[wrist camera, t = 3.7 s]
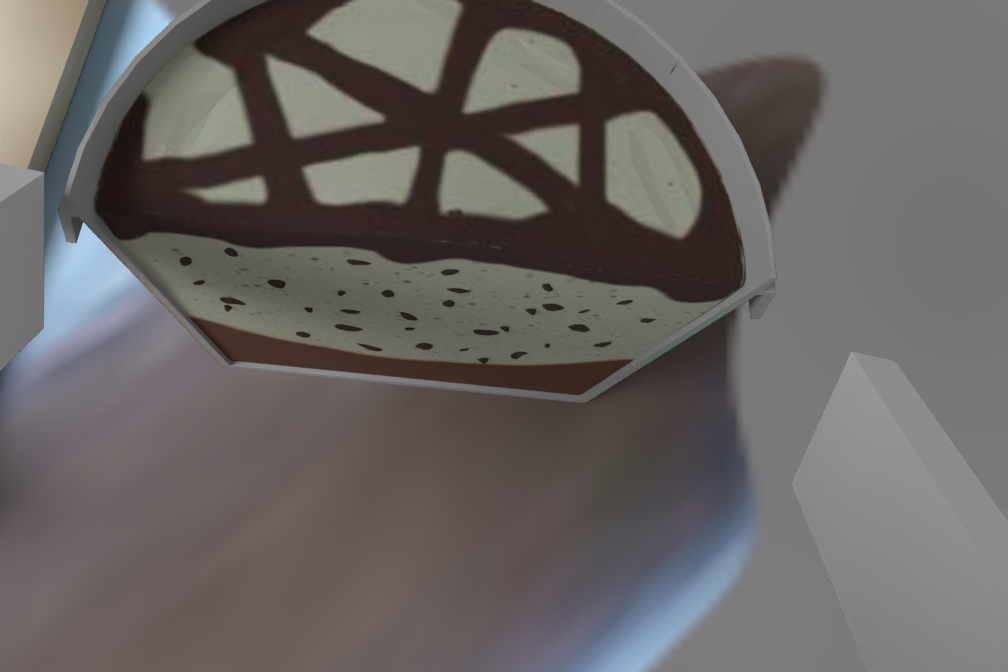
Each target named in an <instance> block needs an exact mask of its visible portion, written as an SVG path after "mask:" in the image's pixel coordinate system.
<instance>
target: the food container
mask: <svg viewBox="0 0 1008 672" xmlns="http://www.w3.org/2000/svg"><path fill="white" fill-rule="evenodd" d="M58 212H59V216H60V220H61V223H62V227H63V231H64V234H65V238H66V242H71V243H77V240H78V236H79V233H80V230H81V227H82V224H83V222H84V223H85V224H86V225H87V226H88V227H89V228H90V229H91V230H92V231H93V233H94V234H95V235H96V236H97V237H98V238H99V239H100V240H101V241H102V242H103V243H104V244H105V245H106V246H107V247H108V248H109V249H110V250H111V251H112V252H113V253H114V254H115V256H116V257H117V258H118V259H119V260H120V261H121V262H122V263H123V264H124V265H125V266H126V267H127V268H128V269H129V270H130V271H131V272H132V273H133V274H134V275H135V276H136V277H137V278H138V280H139V281H140V282H141V283H142V284H143V285H144V286H145V287H146V288H147V289H148V290H149V291H150V292H151V293H152V294H153V295H154V296H155V297H156V298H157V299H158V300H159V301H160V302H161V304H162V305H163V306H164V307H165V308H166V309H167V310H168V311H169V312H170V313H171V314H172V315H173V316H174V317H175V318H176V319H177V320H178V321H179V322H180V323H181V324H182V325H183V327H184V328H185V329H186V330H187V331H188V332H189V333H190V334H191V335H192V336H193V337H194V338H195V339H196V340H197V341H198V342H199V343H200V344H201V345H202V346H203V347H204V348H205V349H206V351H207V352H208V353H209V354H210V355H211V356H212V357H213V358H214V359H215V360H216V361H217V362H218V363H219V364H220V365H221V366H222V367H225V368H235V369H245V370H255V371H265V372H275V373H285V374H295V375H306V376H316V377H326V378H336V379H346V380H356V381H366V382H376V383H386V384H396V385H407V386H417V387H427V388H437V389H447V390H457V391H467V392H477V393H487V394H498V395H508V396H518V397H528V398H538V399H548V400H558V401H568V402H578V403H586V402H588V401H589V400H591V399H593V398H594V397H596V396H597V395H599V394H601V393H602V392H604V391H605V390H607V389H608V388H610V387H612V386H613V385H615V384H616V383H618V382H620V381H621V380H623V379H624V378H626V377H627V376H629V375H631V374H632V373H634V372H635V371H637V370H639V369H640V368H642V367H643V366H645V365H646V364H648V363H650V362H651V361H653V360H654V359H656V358H658V357H659V356H661V355H662V354H664V353H666V352H667V351H669V350H670V349H672V348H673V347H675V346H677V345H678V344H680V343H681V342H683V341H685V340H686V339H688V338H689V337H691V336H692V335H694V334H696V333H697V332H699V331H700V330H702V329H704V328H705V327H707V326H708V325H710V324H711V323H713V322H715V321H716V320H718V319H719V318H721V317H723V316H724V315H726V314H727V313H729V312H730V311H732V310H734V309H735V308H737V307H738V306H740V305H742V304H743V303H745V302H746V301H748V300H749V308H750V318H751V319H760V317H761V316H762V314H763V313H764V311H765V310H766V308H767V306H768V305H769V303H770V302H771V300H772V298H773V297H774V295H775V294H776V290H775V280H776V279H777V275H776V264H775V255H774V247H773V238H772V230H771V226H770V222H769V218H768V214H767V211H766V207H765V203H764V199H763V195H762V191H761V187H760V184H759V181H758V179H757V176H756V174H755V172H754V169H753V167H752V165H751V162H750V160H749V158H748V155H747V153H746V151H745V148H744V146H743V144H742V141H741V139H740V137H739V135H738V134H737V132H736V131H735V129H734V127H733V126H732V124H731V122H730V121H729V119H728V117H727V116H726V114H725V113H724V111H723V109H722V108H721V106H720V104H719V103H718V101H717V99H716V98H715V96H714V95H713V94H712V92H711V91H710V90H709V89H708V88H707V86H706V85H705V84H704V83H703V81H702V80H701V79H700V78H699V77H698V75H697V74H696V73H695V72H694V71H693V69H692V68H691V67H690V66H689V65H688V64H687V62H686V61H685V60H684V58H683V57H682V56H681V55H679V54H678V53H677V52H676V51H675V50H674V49H673V48H672V47H671V46H670V45H668V43H666V42H665V41H664V40H663V39H662V38H661V37H660V36H659V35H658V34H657V33H655V32H654V31H653V30H652V29H651V28H650V27H649V26H648V25H647V24H646V23H644V22H643V21H641V20H640V19H639V18H637V17H636V16H634V15H633V14H631V13H630V12H629V11H627V10H626V9H624V8H623V7H621V6H620V5H618V4H617V3H616V2H614V1H613V0H202V1H200V2H199V3H197V4H196V5H194V6H193V7H192V8H190V9H189V10H187V11H186V12H185V13H183V14H182V15H180V16H179V17H177V18H176V19H175V20H173V21H172V22H171V23H170V24H169V25H168V26H167V27H166V28H165V29H164V30H163V31H162V32H161V33H160V34H159V35H157V36H156V37H155V38H154V39H153V40H152V41H151V42H150V43H149V44H148V45H147V46H146V47H145V48H144V49H143V50H142V51H141V52H140V53H139V54H138V55H137V56H136V57H135V58H134V59H133V60H132V62H131V63H130V64H129V66H128V67H127V68H126V70H125V71H124V72H123V74H122V75H121V77H120V78H119V79H118V81H117V82H116V83H115V85H114V86H113V87H112V89H111V90H110V91H109V93H108V94H107V95H106V97H105V98H104V99H103V101H102V103H101V105H100V107H99V109H98V110H97V112H96V114H95V116H94V118H93V120H92V122H91V124H90V126H89V128H88V130H87V132H86V134H85V135H84V137H83V139H82V141H81V143H80V145H79V147H78V150H77V153H76V156H75V159H74V162H73V165H72V168H71V171H70V174H69V178H68V181H67V184H66V187H65V190H64V193H63V197H62V200H61V203H60V206H59V209H58Z"/></svg>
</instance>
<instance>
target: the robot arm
mask: <svg viewBox="0 0 1008 672" xmlns="http://www.w3.org/2000/svg"><path fill="white" fill-rule="evenodd" d="M43 328H44V172H39V171H35V170H30V169H26V168H21V167H17V166H12V165H8V164H3V163H0V371H1V370H2V369H3V368H4V367H5V366H6V365H7V364H8V363H9V362H10V361H11V360H12V359H13V358H14V357H15V356H16V355H17V354H18V353H19V352H20V351H21V350H22V349H23V348H24V347H25V346H26V345H27V344H28V343H29V342H30V341H31V340H32V339H33V338H34V337H35V336H36V335H37V334H38V333H39V332H40V331H41V330H42V329H43ZM791 485H792V488H793V490H794V492H795V495H796V497H797V500H798V502H799V505H800V507H801V510H802V512H803V514H804V517H805V520H806V522H807V524H808V527H809V530H810V532H811V534H812V537H813V539H814V542H815V544H816V547H817V549H818V552H819V554H820V557H821V559H822V562H823V564H824V566H825V569H826V571H827V574H828V576H829V579H830V581H831V584H832V586H833V589H834V591H835V594H836V596H837V599H838V601H839V604H840V606H841V609H842V611H843V613H844V616H845V618H846V621H847V623H848V626H849V628H850V631H851V633H852V635H853V638H854V640H855V643H856V645H857V648H858V651H859V653H860V656H861V658H862V660H863V663H864V665H865V668H866V670H867V672H1008V521H1007V519H1006V518H1005V516H1004V515H1003V514H1002V512H1001V511H1000V509H999V508H998V506H997V505H996V504H995V502H994V501H993V499H992V498H991V496H990V495H989V494H988V492H987V491H986V489H985V488H984V486H983V485H982V484H981V482H980V481H979V479H978V478H977V476H976V475H975V474H974V472H973V471H972V469H971V468H970V467H969V465H968V464H967V462H966V461H965V459H964V458H963V457H962V455H961V454H960V452H959V451H958V450H957V448H956V447H955V445H954V444H953V442H952V441H951V440H950V438H949V437H948V435H947V434H946V433H945V431H944V430H943V428H942V427H941V425H940V424H939V423H938V421H937V420H936V418H935V417H934V415H933V414H932V413H931V411H930V410H929V408H928V407H927V405H926V404H925V403H924V401H923V400H922V398H921V397H920V396H919V394H918V393H917V391H916V390H915V388H914V387H913V386H912V384H911V383H910V381H909V380H908V378H907V377H906V376H905V374H904V373H903V371H902V370H901V369H900V367H899V366H898V364H897V363H896V362H895V361H893V360H888V359H883V358H879V357H875V356H870V355H866V354H861V353H857V352H851V354H850V356H849V358H848V360H847V362H846V364H845V367H844V369H843V371H842V373H841V375H840V378H839V380H838V382H837V384H836V386H835V389H834V391H833V393H832V395H831V397H830V400H829V402H828V404H827V406H826V408H825V411H824V413H823V415H822V417H821V420H820V422H819V424H818V426H817V428H816V430H815V432H814V435H813V437H812V439H811V441H810V443H809V446H808V448H807V450H806V452H805V454H804V457H803V459H802V461H801V463H800V466H799V468H798V470H797V472H796V474H795V477H794V479H793V481H792V483H791Z"/></svg>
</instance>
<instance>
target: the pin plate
mask: <svg viewBox="0 0 1008 672" xmlns="http://www.w3.org/2000/svg"><path fill="white" fill-rule="evenodd" d="M106 2H107V0H0V163H3V164H8V165H12V166H17V167H21V168H26V169H30V170H35V171H39V172H44V175H45V172H46V169H47V166H48V163H49V161H50V158H51V155H52V152H53V150H54V147H55V144H56V141H57V138H58V136H59V133H60V130H61V127H62V125H63V122H64V119H65V116H66V113H67V111H68V108H69V105H70V102H71V99H72V97H73V94H74V91H75V88H76V86H77V83H78V80H79V77H80V74H81V72H82V69H83V66H84V63H85V61H86V58H87V55H88V52H89V49H90V47H91V44H92V41H93V38H94V35H95V33H96V30H97V27H98V24H99V22H100V19H101V16H102V13H103V10H104V8H105V5H106Z"/></svg>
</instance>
